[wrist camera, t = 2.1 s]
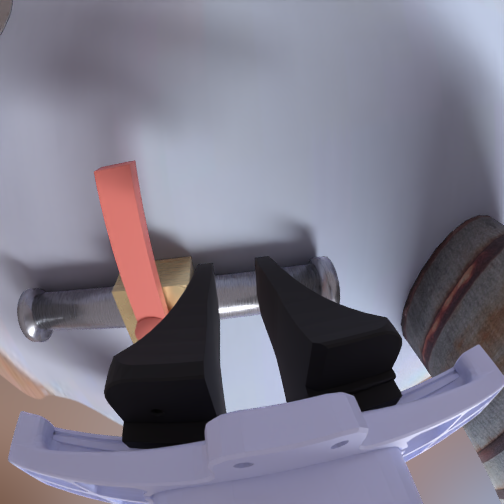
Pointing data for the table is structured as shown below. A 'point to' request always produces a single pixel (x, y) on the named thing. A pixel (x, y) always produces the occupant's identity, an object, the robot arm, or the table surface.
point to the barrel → (464, 321)
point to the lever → (131, 243)
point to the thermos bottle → (4, 12)
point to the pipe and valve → (173, 285)
